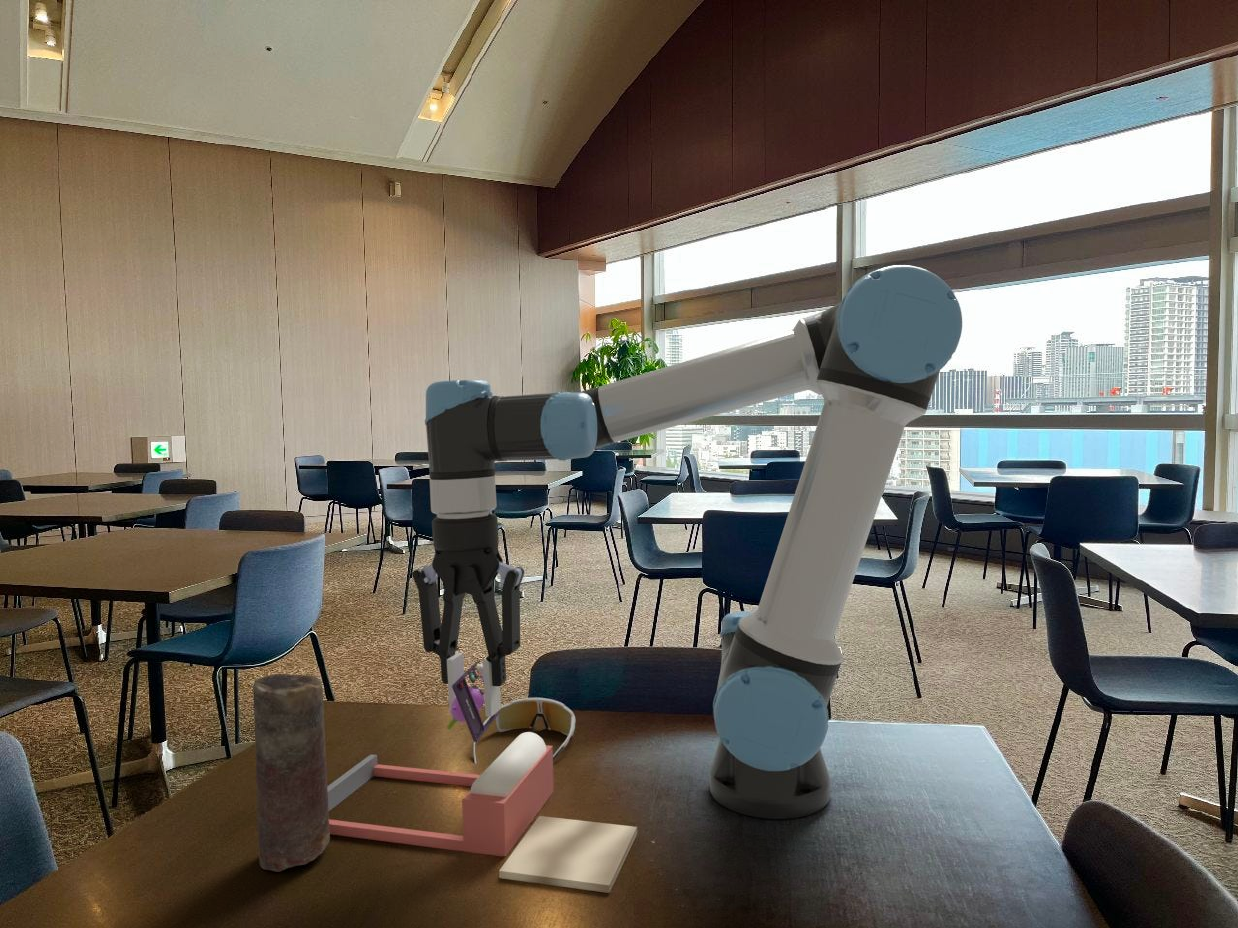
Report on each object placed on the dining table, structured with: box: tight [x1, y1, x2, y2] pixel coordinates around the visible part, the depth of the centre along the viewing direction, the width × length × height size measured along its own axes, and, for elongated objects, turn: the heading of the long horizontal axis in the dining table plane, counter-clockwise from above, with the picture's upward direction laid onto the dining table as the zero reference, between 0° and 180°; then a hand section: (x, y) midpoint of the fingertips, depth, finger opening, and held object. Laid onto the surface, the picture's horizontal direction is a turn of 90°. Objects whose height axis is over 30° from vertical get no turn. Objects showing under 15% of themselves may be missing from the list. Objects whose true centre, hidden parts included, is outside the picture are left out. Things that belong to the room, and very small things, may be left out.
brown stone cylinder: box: [252, 673, 331, 873], centre depth 90 cm, size 8×7×20 cm
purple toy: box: [446, 660, 499, 743], centre depth 93 cm, size 7×5×9 cm
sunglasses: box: [472, 697, 576, 765], centre depth 120 cm, size 14×15×5 cm
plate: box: [498, 815, 638, 894], centre depth 89 cm, size 12×12×1 cm
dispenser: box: [327, 731, 555, 858], centre depth 100 cm, size 26×16×8 cm, turn 75°
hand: (475, 710), depth 96 cm, fingers closed on purple toy, 4 cm apart
